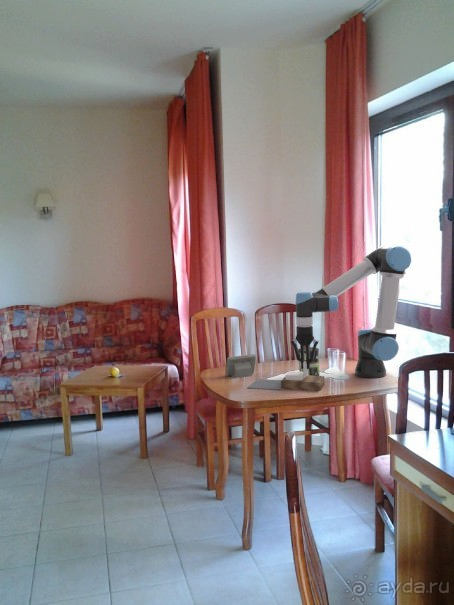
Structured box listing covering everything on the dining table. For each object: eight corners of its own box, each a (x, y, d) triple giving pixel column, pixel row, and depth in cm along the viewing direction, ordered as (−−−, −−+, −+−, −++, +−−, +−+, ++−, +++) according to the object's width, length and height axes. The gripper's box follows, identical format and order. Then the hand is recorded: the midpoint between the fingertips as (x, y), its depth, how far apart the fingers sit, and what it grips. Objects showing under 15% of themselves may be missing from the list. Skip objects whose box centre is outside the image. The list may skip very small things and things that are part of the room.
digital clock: (255, 372, 280) (254, 352, 279) (258, 376, 271) (257, 355, 270) (224, 374, 278) (223, 354, 277) (227, 378, 269) (226, 358, 268)
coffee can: (319, 374, 270) (319, 347, 268) (319, 379, 260) (318, 351, 258) (299, 374, 272) (298, 347, 271) (298, 379, 262) (297, 351, 261)
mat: (288, 381, 259) (288, 380, 259) (280, 390, 244) (280, 389, 244) (257, 379, 264) (257, 378, 264) (247, 388, 249) (247, 387, 249)
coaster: (305, 376, 251) (305, 371, 251) (302, 380, 244) (302, 375, 243) (289, 375, 254) (289, 370, 254) (285, 379, 246) (285, 375, 246)
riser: (324, 384, 250) (324, 376, 250) (319, 391, 239) (319, 382, 239) (287, 382, 257) (287, 374, 256) (281, 389, 246) (281, 380, 245)
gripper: (320, 324, 246) (321, 374, 248) (292, 324, 250) (293, 373, 253) (317, 327, 239) (318, 378, 241) (288, 326, 243) (290, 376, 246)
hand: (305, 375), depth 247 cm, fingers closed
